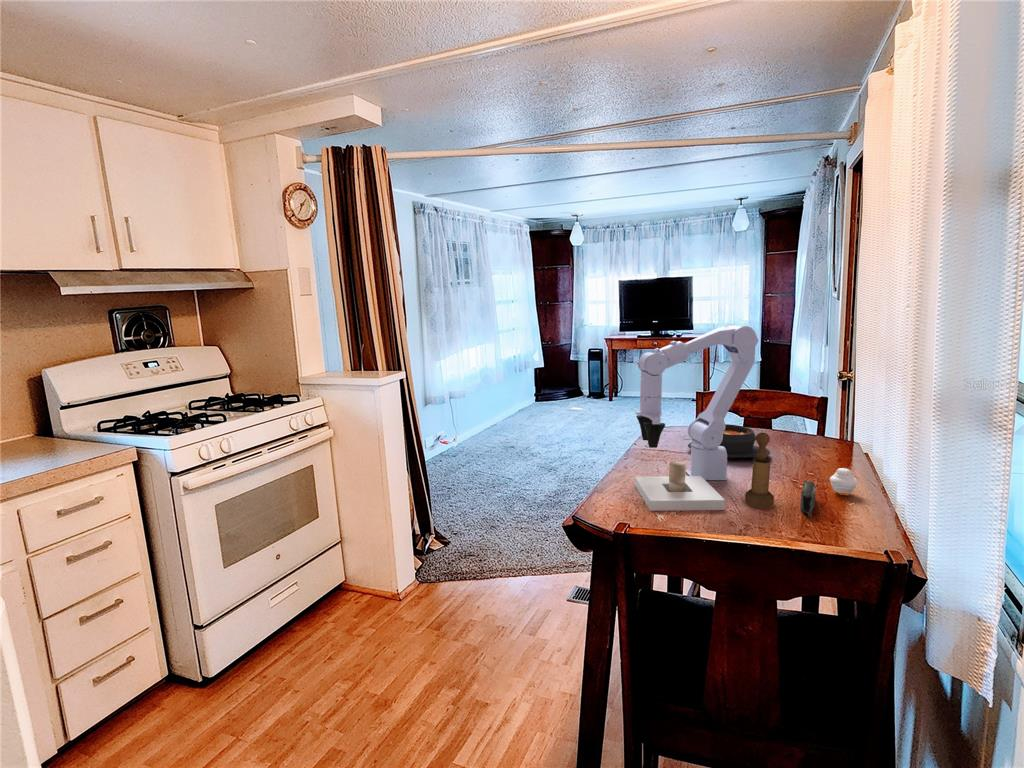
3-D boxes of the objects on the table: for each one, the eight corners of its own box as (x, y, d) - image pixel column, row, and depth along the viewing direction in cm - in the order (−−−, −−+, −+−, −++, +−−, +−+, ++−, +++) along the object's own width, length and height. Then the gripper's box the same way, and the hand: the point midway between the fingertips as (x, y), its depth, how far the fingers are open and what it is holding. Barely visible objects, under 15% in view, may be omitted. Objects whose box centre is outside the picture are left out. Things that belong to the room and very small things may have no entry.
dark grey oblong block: (802, 478, 142) (801, 496, 129) (815, 480, 141) (815, 498, 128) (801, 497, 143) (799, 516, 130) (814, 499, 142) (814, 518, 129)
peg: (682, 494, 146) (683, 461, 144) (686, 499, 142) (687, 465, 140) (666, 494, 146) (667, 461, 144) (670, 499, 142) (671, 465, 140)
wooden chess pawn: (771, 510, 134) (775, 437, 131) (742, 505, 137) (746, 434, 135) (775, 501, 140) (779, 431, 137) (747, 496, 143) (751, 428, 140)
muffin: (842, 499, 140) (844, 472, 139) (823, 491, 146) (825, 465, 145) (862, 496, 142) (864, 470, 141) (842, 488, 148) (844, 463, 147)
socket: (700, 484, 152) (700, 475, 152) (724, 509, 135) (724, 500, 134) (634, 485, 153) (635, 476, 152) (649, 510, 135) (650, 500, 135)
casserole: (772, 451, 183) (773, 426, 181) (767, 467, 167) (768, 440, 165) (693, 443, 195) (694, 419, 194) (682, 456, 179) (682, 431, 178)
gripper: (631, 391, 161) (630, 437, 163) (642, 401, 147) (641, 451, 149) (655, 391, 161) (654, 436, 163) (668, 400, 147) (667, 450, 149)
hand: (649, 443), depth 156 cm, fingers open, 7 cm apart
